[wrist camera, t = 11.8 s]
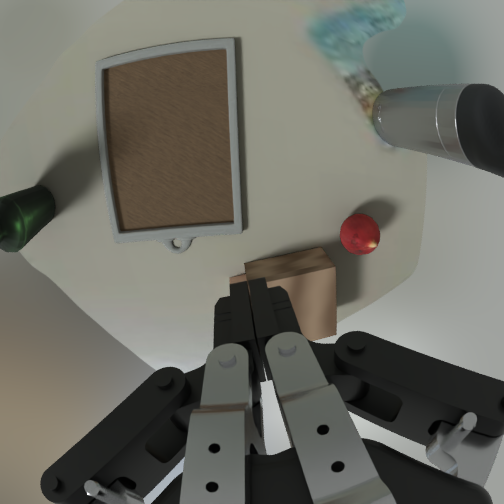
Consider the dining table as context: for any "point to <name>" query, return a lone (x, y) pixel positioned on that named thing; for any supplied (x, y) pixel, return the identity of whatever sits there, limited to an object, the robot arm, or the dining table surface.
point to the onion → (359, 234)
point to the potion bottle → (24, 216)
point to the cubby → (303, 288)
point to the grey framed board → (170, 142)
